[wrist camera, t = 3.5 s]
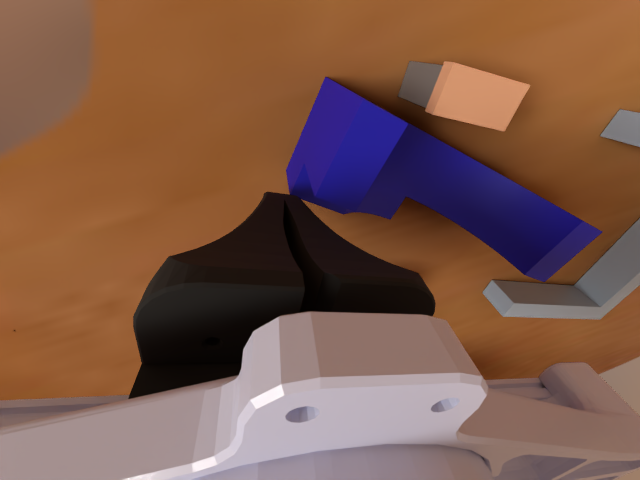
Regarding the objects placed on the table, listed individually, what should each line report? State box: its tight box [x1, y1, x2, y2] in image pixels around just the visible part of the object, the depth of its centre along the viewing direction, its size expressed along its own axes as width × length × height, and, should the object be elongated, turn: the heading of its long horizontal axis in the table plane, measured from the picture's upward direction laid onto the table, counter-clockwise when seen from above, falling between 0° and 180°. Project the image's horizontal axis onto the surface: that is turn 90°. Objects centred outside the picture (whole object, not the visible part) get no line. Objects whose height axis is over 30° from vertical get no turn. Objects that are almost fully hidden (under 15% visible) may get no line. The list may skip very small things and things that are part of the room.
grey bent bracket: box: [483, 109, 640, 319], centre depth 19 cm, size 14×10×2 cm
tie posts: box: [398, 61, 530, 131], centre depth 14 cm, size 13×3×4 cm, turn 167°
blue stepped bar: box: [286, 77, 602, 282], centre depth 13 cm, size 12×4×6 cm, turn 64°
